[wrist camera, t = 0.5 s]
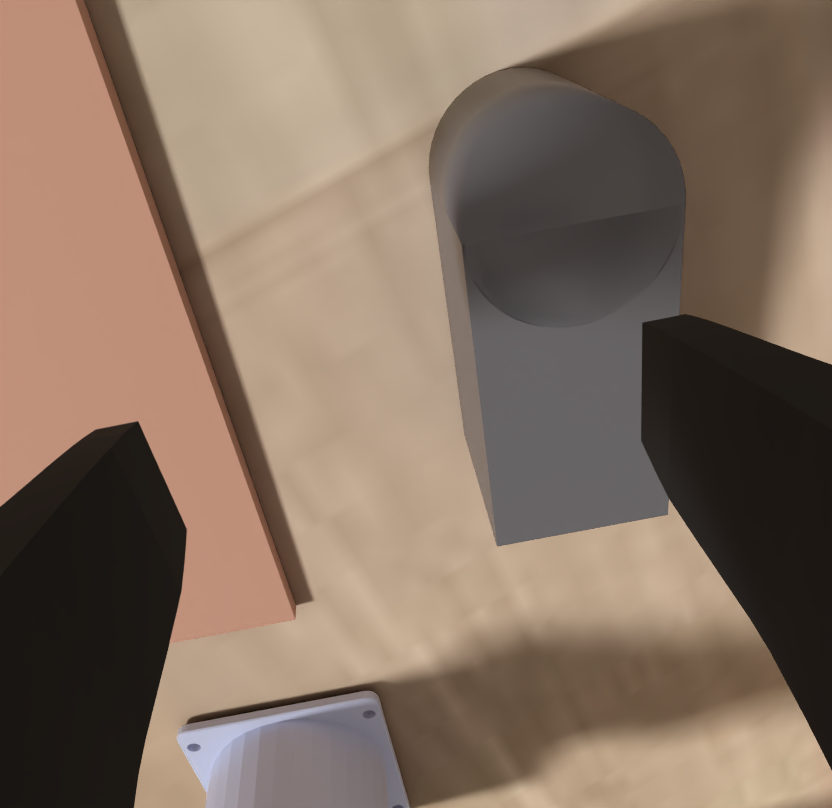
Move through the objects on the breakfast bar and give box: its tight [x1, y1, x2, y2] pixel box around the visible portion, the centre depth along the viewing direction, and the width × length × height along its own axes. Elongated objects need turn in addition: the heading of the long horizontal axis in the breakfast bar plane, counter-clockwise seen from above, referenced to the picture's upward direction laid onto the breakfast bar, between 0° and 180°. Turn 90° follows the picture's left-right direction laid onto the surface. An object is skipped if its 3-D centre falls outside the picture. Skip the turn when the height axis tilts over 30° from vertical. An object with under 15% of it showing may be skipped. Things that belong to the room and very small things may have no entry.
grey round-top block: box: [429, 67, 686, 546], centre depth 18 cm, size 12×4×5 cm, turn 8°
